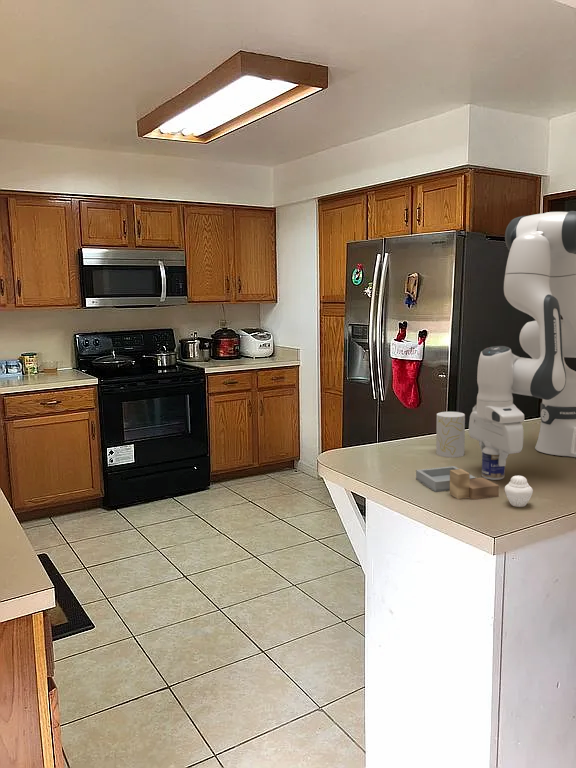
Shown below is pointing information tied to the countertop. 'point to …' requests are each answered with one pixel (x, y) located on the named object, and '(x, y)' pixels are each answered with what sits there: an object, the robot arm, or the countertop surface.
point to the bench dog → (459, 483)
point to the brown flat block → (482, 489)
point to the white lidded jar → (518, 491)
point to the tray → (436, 478)
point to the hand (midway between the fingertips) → (493, 461)
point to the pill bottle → (491, 463)
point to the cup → (450, 434)
